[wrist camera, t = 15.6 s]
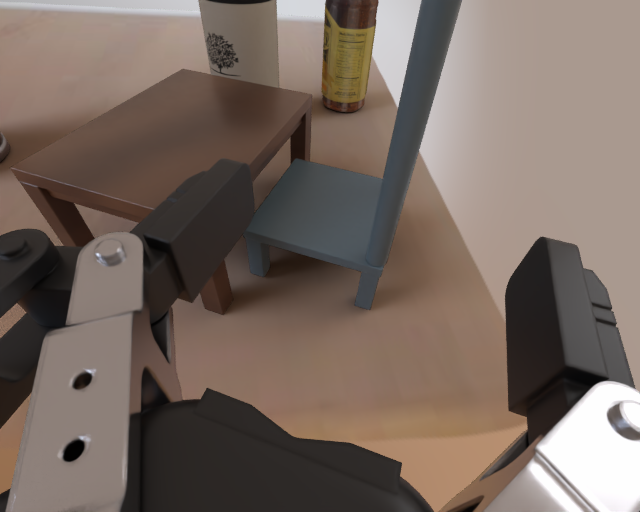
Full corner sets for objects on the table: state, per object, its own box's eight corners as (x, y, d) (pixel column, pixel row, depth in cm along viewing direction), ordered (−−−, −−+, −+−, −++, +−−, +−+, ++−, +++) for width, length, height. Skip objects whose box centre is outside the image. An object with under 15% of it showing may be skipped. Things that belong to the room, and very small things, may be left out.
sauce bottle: (329, 92, 53) (342, -95, 38) (369, 100, 51) (398, -89, 37) (313, 109, 48) (321, -93, 34) (356, 119, 47) (383, -87, 33)
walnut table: (77, 265, 28) (8, 167, 21) (201, 153, 40) (182, 68, 33) (223, 315, 25) (198, 222, 19) (309, 180, 37) (312, 94, 30)
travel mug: (256, 99, 50) (241, -75, 36) (292, 120, 46) (291, -65, 33) (206, 115, 46) (170, -73, 33) (242, 139, 42) (217, -62, 29)
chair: (248, 273, 28) (191, -98, 13) (295, 201, 34) (295, -102, 19) (372, 312, 26) (481, -70, 11) (396, 227, 32) (486, -85, 17)
